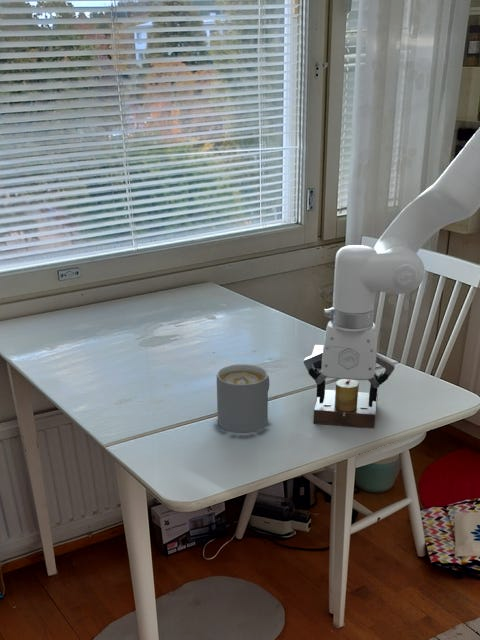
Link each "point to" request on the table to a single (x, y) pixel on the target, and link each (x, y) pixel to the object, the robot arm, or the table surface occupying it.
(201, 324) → the table surface
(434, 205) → the robot arm
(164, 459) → the table surface
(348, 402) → the dial
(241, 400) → the coffee mug
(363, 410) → the dial panel
